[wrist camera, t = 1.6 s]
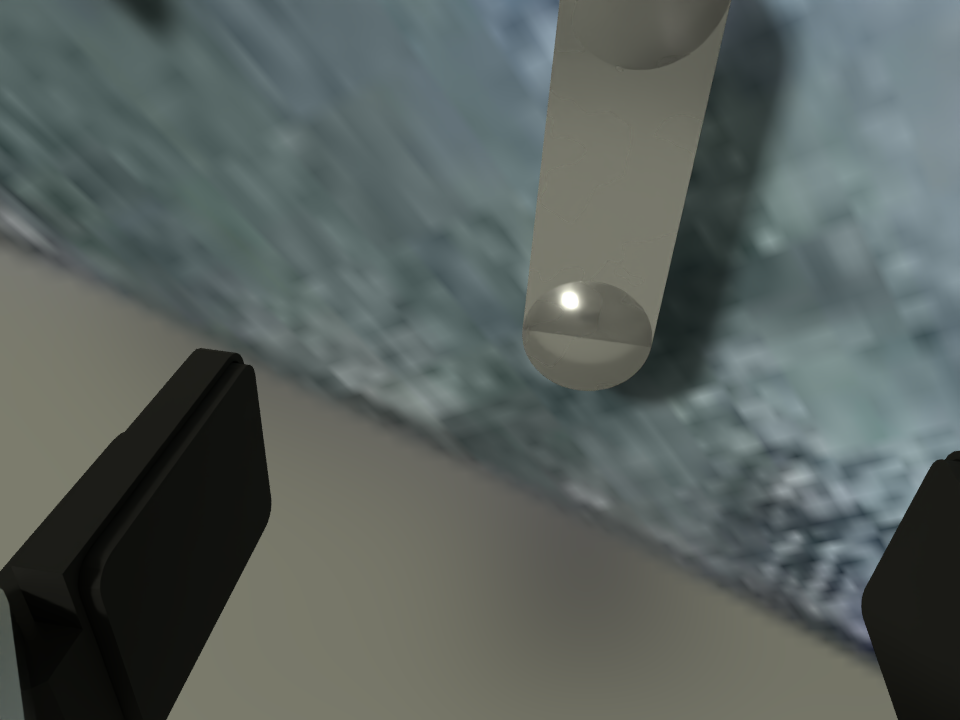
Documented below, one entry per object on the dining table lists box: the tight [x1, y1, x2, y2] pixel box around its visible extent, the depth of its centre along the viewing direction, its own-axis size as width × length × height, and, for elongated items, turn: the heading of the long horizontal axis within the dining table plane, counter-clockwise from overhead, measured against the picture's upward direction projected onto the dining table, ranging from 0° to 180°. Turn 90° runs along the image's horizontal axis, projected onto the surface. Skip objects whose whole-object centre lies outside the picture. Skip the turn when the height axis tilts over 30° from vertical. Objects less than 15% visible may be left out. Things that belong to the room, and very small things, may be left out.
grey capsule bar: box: [522, 0, 731, 391], centre depth 22 cm, size 4×14×4 cm, turn 176°
